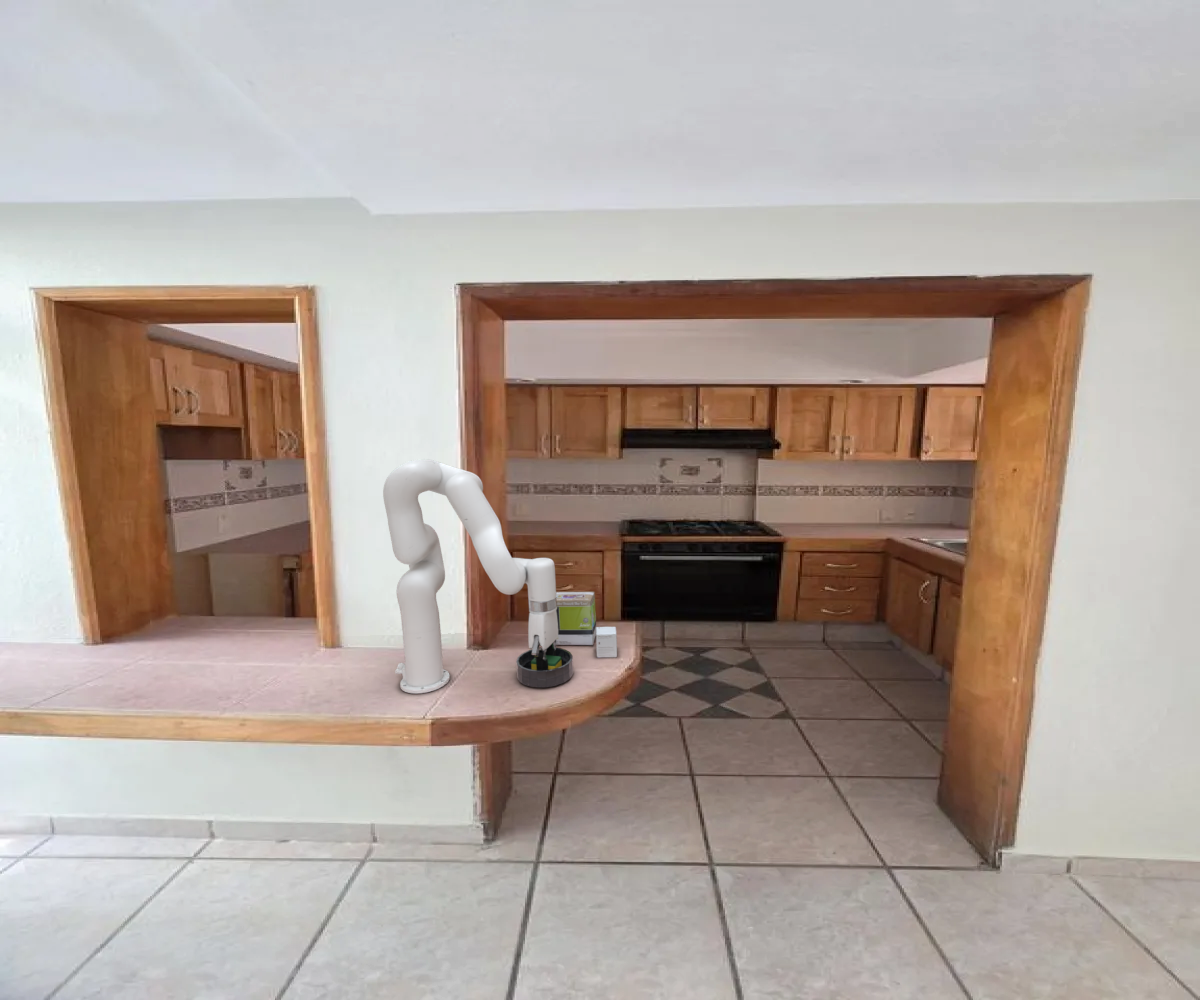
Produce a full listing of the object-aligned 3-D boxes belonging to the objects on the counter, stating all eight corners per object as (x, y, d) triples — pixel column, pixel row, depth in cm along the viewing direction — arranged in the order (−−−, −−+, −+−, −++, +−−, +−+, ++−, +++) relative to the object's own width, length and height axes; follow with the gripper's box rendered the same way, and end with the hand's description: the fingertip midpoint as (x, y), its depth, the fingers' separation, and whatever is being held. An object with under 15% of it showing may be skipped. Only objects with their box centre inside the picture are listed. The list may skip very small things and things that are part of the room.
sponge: (531, 671, 135) (531, 661, 135) (538, 664, 139) (538, 654, 139) (555, 674, 133) (554, 663, 132) (561, 666, 137) (561, 656, 137)
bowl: (507, 685, 131) (506, 667, 131) (532, 660, 146) (531, 644, 145) (560, 692, 127) (559, 674, 126) (580, 666, 141) (580, 650, 140)
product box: (596, 658, 146) (595, 634, 146) (596, 649, 152) (595, 626, 152) (617, 657, 146) (616, 633, 146) (616, 648, 152) (615, 625, 152)
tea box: (596, 634, 165) (595, 590, 163) (593, 646, 155) (591, 600, 153) (552, 633, 166) (550, 590, 165) (545, 645, 156) (543, 600, 155)
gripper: (543, 593, 143) (546, 654, 145) (515, 614, 127) (520, 681, 129) (567, 595, 141) (570, 656, 143) (542, 616, 125) (546, 685, 127)
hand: (546, 667), depth 136 cm, fingers closed on sponge, 4 cm apart
